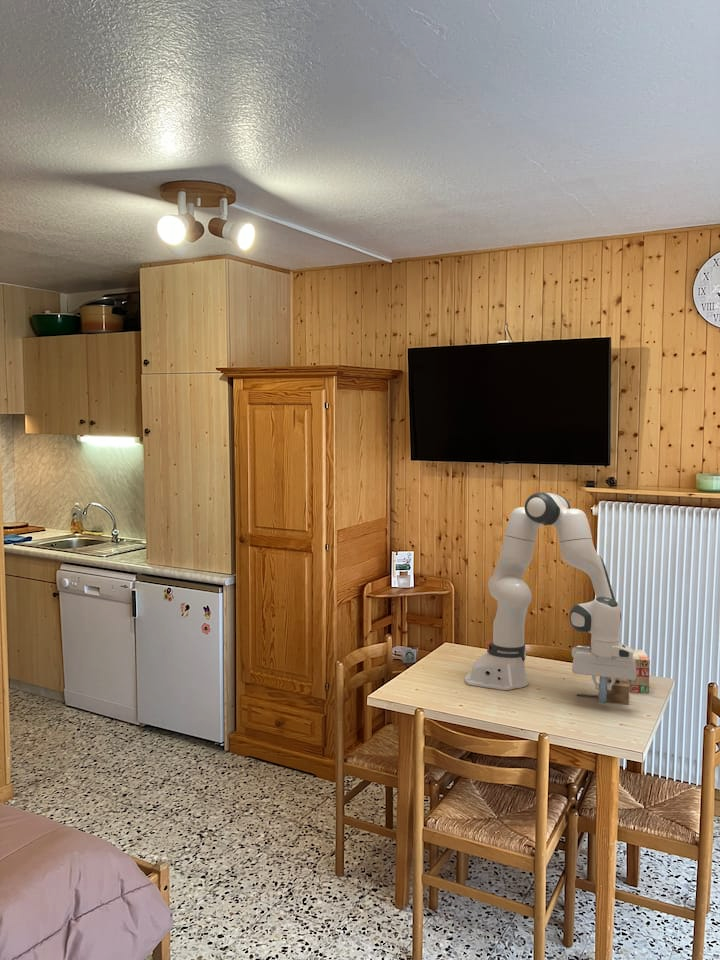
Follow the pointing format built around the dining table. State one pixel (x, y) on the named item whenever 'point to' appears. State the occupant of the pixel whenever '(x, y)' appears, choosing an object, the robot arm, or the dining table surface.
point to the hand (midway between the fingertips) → (603, 689)
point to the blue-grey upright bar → (603, 690)
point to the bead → (618, 691)
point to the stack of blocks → (640, 673)
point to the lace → (587, 695)
